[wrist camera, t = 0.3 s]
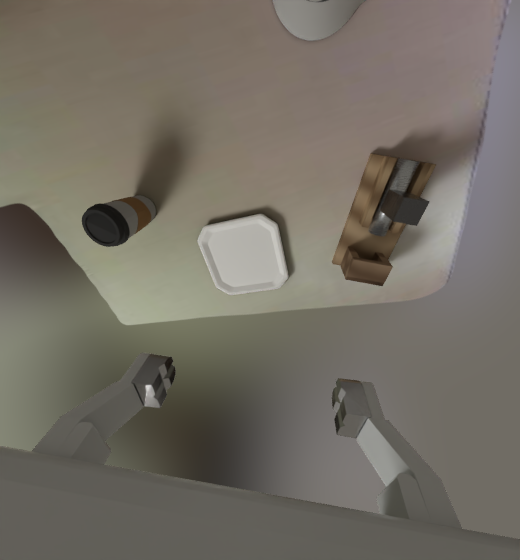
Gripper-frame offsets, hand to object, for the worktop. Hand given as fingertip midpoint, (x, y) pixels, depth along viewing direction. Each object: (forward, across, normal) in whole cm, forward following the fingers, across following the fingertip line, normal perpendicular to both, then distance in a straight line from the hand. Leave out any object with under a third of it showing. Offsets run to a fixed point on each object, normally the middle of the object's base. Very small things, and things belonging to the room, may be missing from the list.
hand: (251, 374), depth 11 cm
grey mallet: (+44, -21, 0) cm, 49 cm away
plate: (+46, +9, +17) cm, 50 cm away
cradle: (+46, -21, +5) cm, 50 cm away
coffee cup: (+46, +34, +6) cm, 57 cm away
